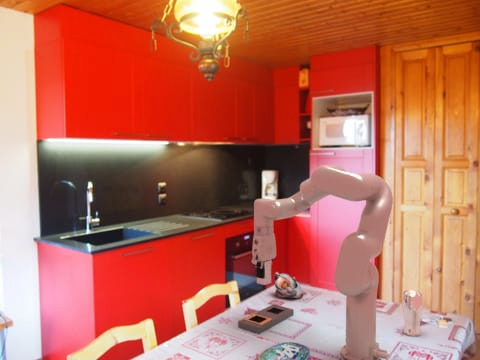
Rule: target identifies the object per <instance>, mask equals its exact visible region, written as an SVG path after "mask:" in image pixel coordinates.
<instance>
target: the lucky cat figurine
mask: <svg viewBox="0 0 480 360" xmlns="http://www.w3.org/2000/svg"><path fill="white" fill-rule="evenodd" d="M296 280H297V279H296V277H295V276H293V277H291V276H290V275H289V274H288V273H279V272H278V271H276V272H275V273H274V287H275V294H276V295H277V297H278V298H280V297H281V298H290V299H291V298H293V299H302V298H303V296H304V295H305V292H304V291H303V289H301V288H302V287H301V285H300V283H299V282H298V281H296Z"/></svg>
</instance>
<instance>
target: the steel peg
mask: <svg viewBox="0 0 480 360" xmlns="http://www.w3.org/2000/svg"><path fill="white" fill-rule="evenodd" d="M259 263H260V262H259ZM263 268H264V278H263V279H261V278H257V277H256V284H259V285H262V286H266V285H269V284H271V283H272V266H271V260H266V261H263Z"/></svg>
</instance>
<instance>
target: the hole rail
mask: <svg viewBox="0 0 480 360" xmlns="http://www.w3.org/2000/svg"><path fill="white" fill-rule="evenodd" d="M293 316H294V309H293V308H289V307H287V306H286V307H285V306H282V305H278V304H274V303H273V304H270V305H269V306H267V307H265V308H263V309H261V310H259V311H256V312H254V313H252V314H250V315H248V316H246V317H244V318H241V319H240V320H238V321H237V327H238V328H237V329H241V330H245V331H247V332H250V333H254V334H256V335H261V334H263V333H264V332H266V331H267V330H270V329H272V328H273V327H275V326H277V325H279V324H281V323H283V322H284V321H286V320H288V319H291V317H293Z"/></svg>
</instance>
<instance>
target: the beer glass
mask: <svg viewBox="0 0 480 360" xmlns="http://www.w3.org/2000/svg"><path fill="white" fill-rule="evenodd" d="M402 292H403V293H402V301H401V302H402V313H403V318H404V325H403V333H404V334H405V335H407V336H410V337H420V336H422V331H421V320H422V315H423V308H424V307H423V304H424V301H423V294H422V292H419V291H416V290H404V291H402Z"/></svg>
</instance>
